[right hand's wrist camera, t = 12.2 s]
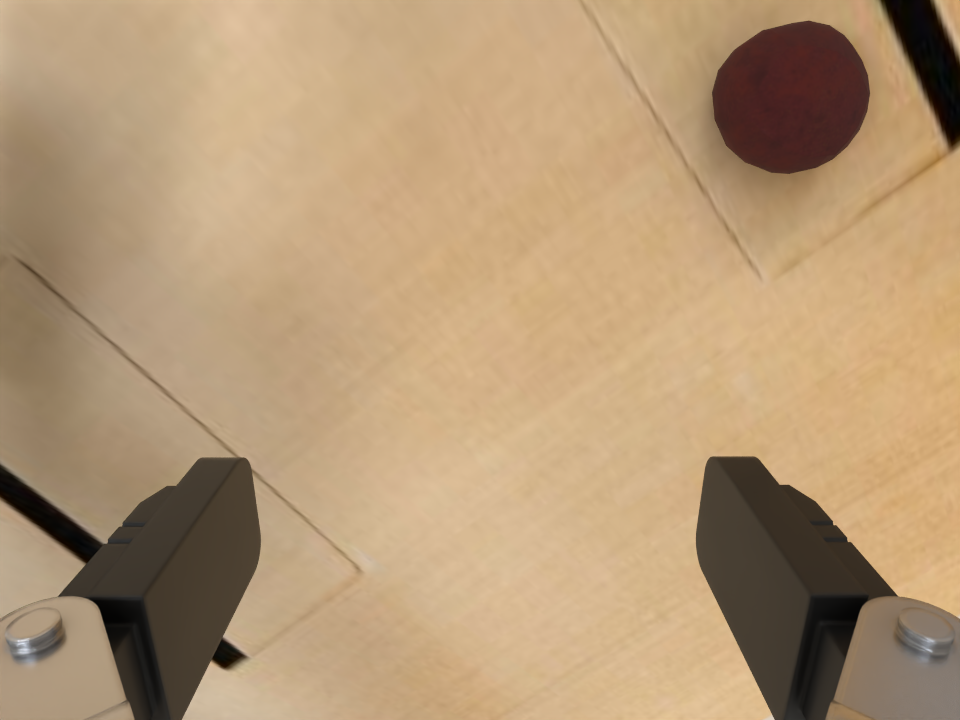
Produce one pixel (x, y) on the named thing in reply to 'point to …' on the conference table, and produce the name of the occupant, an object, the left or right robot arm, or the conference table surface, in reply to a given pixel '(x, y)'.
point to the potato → (791, 97)
